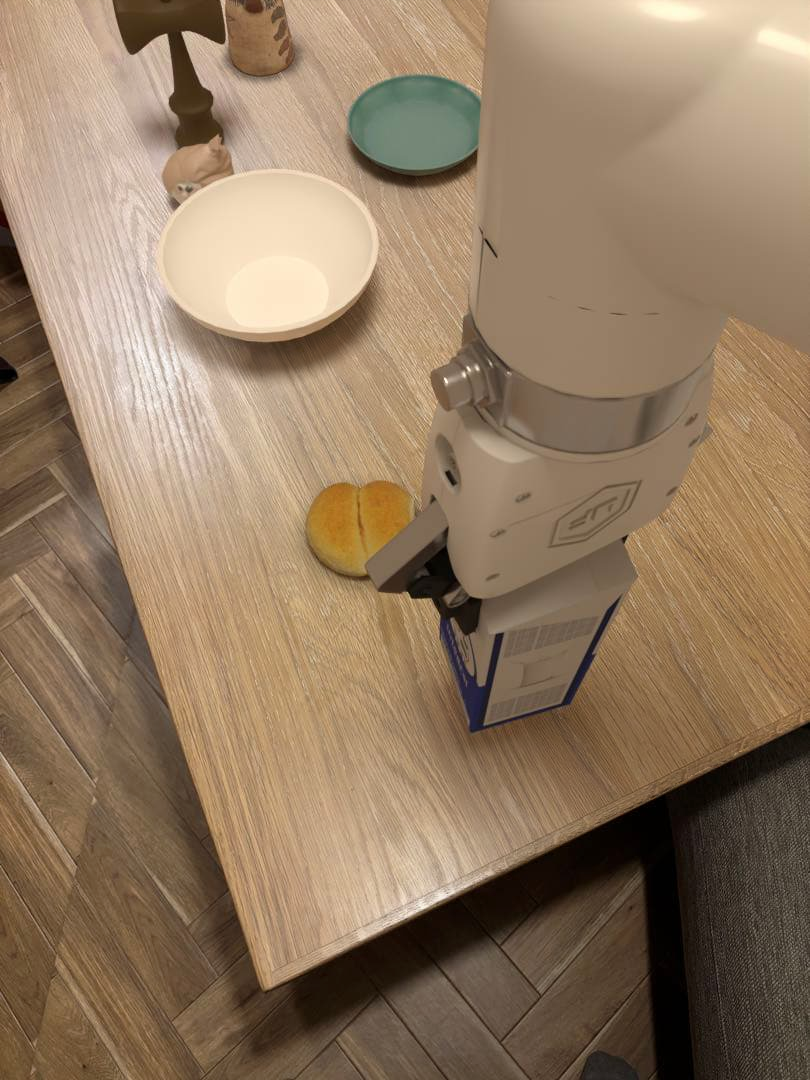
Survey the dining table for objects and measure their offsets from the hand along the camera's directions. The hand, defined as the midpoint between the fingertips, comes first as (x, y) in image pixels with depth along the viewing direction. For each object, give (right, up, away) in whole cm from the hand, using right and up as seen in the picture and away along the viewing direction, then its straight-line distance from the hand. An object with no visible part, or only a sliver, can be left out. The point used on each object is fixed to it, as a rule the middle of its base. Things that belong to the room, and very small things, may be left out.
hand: (525, 573), depth 43 cm
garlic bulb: (-26, +36, +45) cm, 64 cm away
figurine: (-22, +57, +56) cm, 82 cm away
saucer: (-5, +44, +49) cm, 66 cm away
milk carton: (0, -7, +14) cm, 15 cm away
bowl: (-18, +24, +39) cm, 50 cm away
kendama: (-28, +44, +49) cm, 72 cm away
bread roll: (-9, +2, +28) cm, 30 cm away
